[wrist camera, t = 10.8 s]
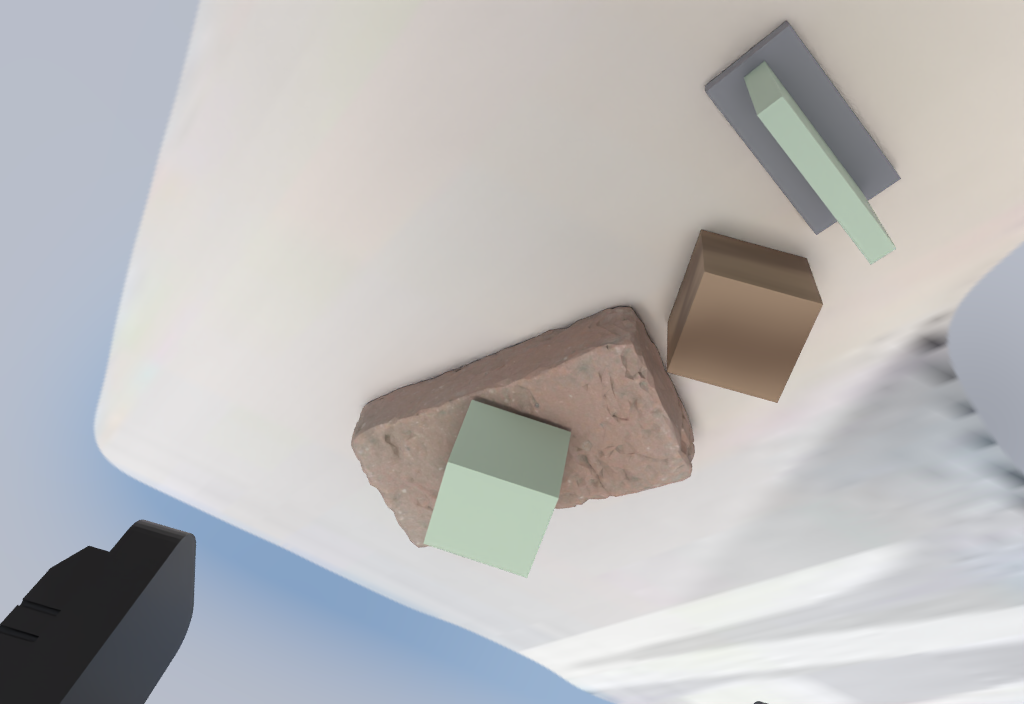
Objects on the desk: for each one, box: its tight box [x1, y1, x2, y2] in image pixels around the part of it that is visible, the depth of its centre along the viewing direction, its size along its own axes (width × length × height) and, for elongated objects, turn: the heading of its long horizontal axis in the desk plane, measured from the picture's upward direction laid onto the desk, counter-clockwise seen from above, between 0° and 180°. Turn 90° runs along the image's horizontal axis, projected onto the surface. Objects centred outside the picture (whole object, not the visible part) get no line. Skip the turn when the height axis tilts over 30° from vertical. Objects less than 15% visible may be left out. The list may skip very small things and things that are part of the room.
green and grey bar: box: [705, 21, 901, 264], centre depth 33 cm, size 4×8×8 cm, turn 42°
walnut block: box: [667, 230, 823, 403], centre depth 38 cm, size 5×5×5 cm
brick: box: [351, 307, 695, 548], centre depth 44 cm, size 17×8×5 cm, turn 117°
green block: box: [423, 400, 571, 578], centre depth 40 cm, size 5×5×5 cm
